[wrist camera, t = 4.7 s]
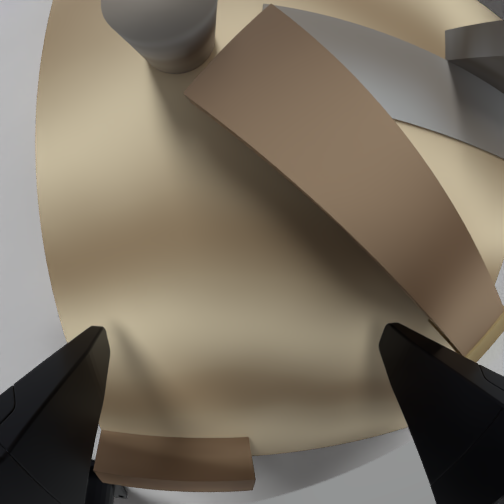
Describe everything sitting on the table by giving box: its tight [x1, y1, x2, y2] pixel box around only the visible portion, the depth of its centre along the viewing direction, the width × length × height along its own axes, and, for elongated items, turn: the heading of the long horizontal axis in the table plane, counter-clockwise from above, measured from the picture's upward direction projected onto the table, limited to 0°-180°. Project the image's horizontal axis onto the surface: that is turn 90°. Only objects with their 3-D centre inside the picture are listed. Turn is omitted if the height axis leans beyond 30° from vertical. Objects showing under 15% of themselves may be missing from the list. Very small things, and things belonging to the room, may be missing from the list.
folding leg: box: [183, 4, 504, 362], centre depth 7 cm, size 12×2×3 cm, turn 50°
